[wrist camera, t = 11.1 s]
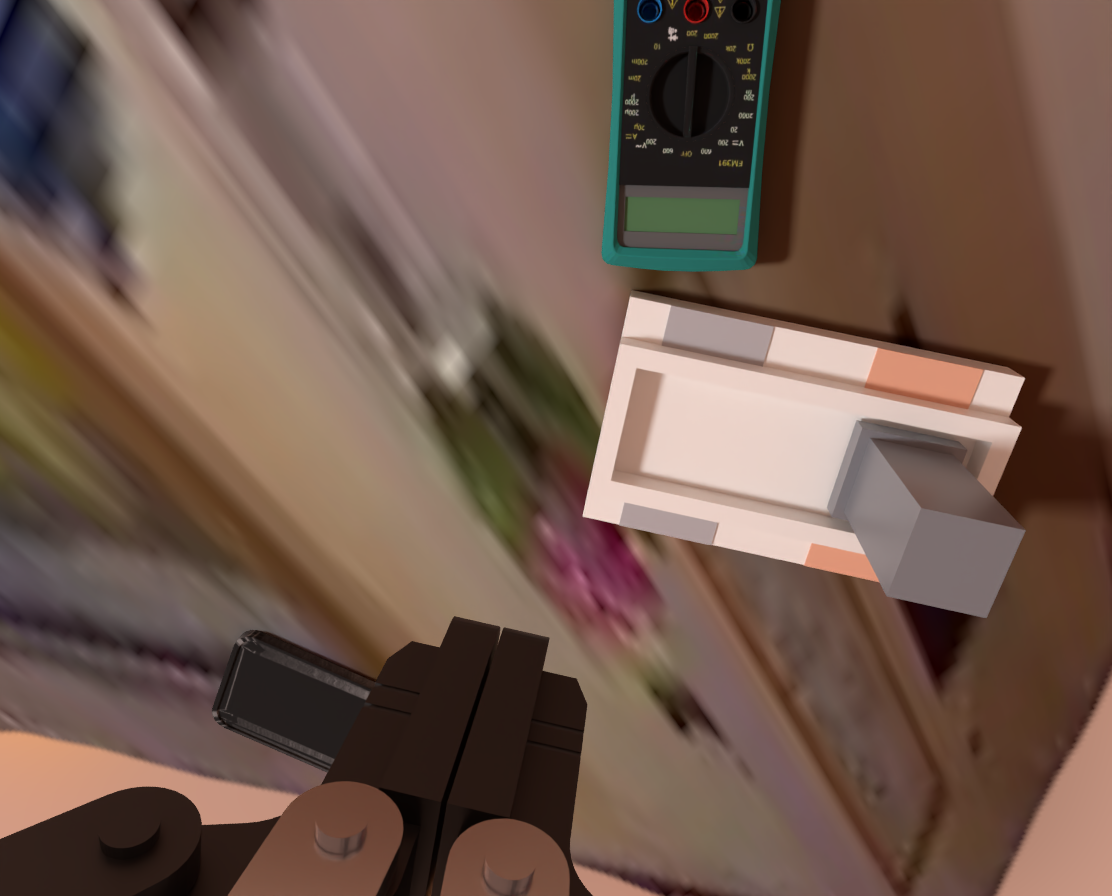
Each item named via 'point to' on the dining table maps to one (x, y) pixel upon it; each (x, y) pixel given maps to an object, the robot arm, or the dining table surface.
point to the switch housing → (772, 426)
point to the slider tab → (924, 519)
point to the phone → (289, 699)
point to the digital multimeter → (688, 133)
